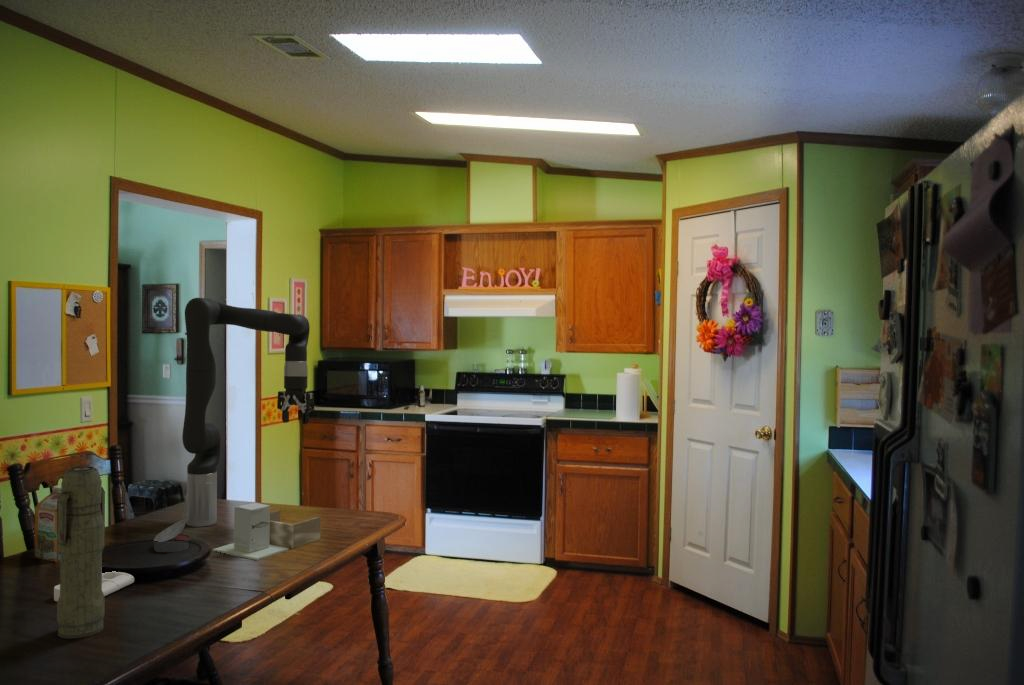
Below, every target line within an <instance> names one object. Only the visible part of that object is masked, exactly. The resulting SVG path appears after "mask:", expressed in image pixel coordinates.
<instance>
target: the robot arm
mask: <svg viewBox="0 0 1024 685" xmlns="http://www.w3.org/2000/svg"><path fill="white" fill-rule="evenodd" d="M184 323H185V331H186V368H185V369H186V370H185V410H184V419H183V420H184V421H183V427H182V436H181V438H182V445H183V447H184V449H185V450H186V451H187V452H188V453H189V454H192V455H193V454H194V457H193V459H192V460H191V461H190V462H189V463H188V464H187V466H186V467H187V468H186V471H187V473H186V478H187V479H186V485H187V486H186V487H187V489H186V494H185V496H184V519H187V522H186V524H185V525H187V526H188V527H207V526H213V525H215V524H217V522H218V521H217V520H218V519H217V518H218V517H217V514H218V510H217V509H218V507H217V506H218V504H217V503H218V498H217V497H218V491H217V489H218V466H219V463H220V459H221V445H222V444H221V441H222V440H221V433H220V430H219V428H218V426H216V425H215V424H213V423H209V422H207V423H206V413H207V408H208V405H209V403H210V401H211V398H212V396H213V395H214V394H213V393H214V392H215V388H216V383H217V364H216V360H215V357H214V356H215V355H214V352H213V351H212V347H211V341H210V326H212V325H213V326H214V325H215V326H216V325H227V326H228V325H229V326H236V327H241V328H245V329H248V330H249V329H250V330H254V331H261V332H269V333H277V334H282V335H286V336H288V341H287V342H288V343H287V344H286V345H285V349H284V368H283V388H284V390H282V391H281V390H280V391H279V390H278V392H277V402H276V403H277V404H276V408H277V409H278V410H280V412H281V420H282V423H284V424H285V423H289V422H290V411H289V410H290V408H291V407H292V406H297V407H298V408H300V410H301V412H302V413H301V424H302V425H303V426H304V425H308V424H309V421H310V413H311V412H314V411H315V394H314V393H313V392H308V393H307V389H308V374H309V373H308V371H309V370H308V343H309V338H310V321H309V319H308V318H307V317H306V316H305V315H303V314H293V313H291V314H290V313H284V312H283V313H282V312H277V311H275V310H274V311H273V310H266V309H260V308H251V307H249V308H248V307H239V306H234V305H229V304H225V303H222V302H218V301H216V300H213V299H211V298H208V297H206V298H205V297H194V298H192V299H190V300H189V301H188V302H187V304H186V305H185V309H184Z"/></svg>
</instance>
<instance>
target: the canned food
mask: <svg viewBox="0 0 1024 685" xmlns="http://www.w3.org/2000/svg"><path fill="white" fill-rule="evenodd" d="M186 522H187V519H185V518H183V519H181V520H179V521H177V522H175V523H173V524H172V525H170V526H168V527H166V528H165V529H163V530H161V532H159V533H158V534H156V536H155V537H154V538H153V542H154V541H158V542H165V541H168V540H170V539H184V540H191V538H190V536H189V534H188V535H187V534H184V533H183V534H182V531H183V530H184V528H185V527H186V525H187V524H186Z"/></svg>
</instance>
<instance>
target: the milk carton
mask: <svg viewBox="0 0 1024 685" xmlns="http://www.w3.org/2000/svg"><path fill="white" fill-rule="evenodd" d="M60 495H61V487H59V486H57V487H56V486H54V487H52V492H51V493H49V494H48V495H46V496H45V497H44V498H42V500H40V501H39V502H38V503H37V505H36V506H35V507H34V558H37V559H41V558H42V560H45V559H46V560H45V561H49V560H50V561H49V562H53V561H54V562H53V563H57V562H58V563H60V555H59V553H58V542H57V501H58V499H59V496H60Z"/></svg>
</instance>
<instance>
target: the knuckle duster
mask: <svg viewBox="0 0 1024 685" xmlns="http://www.w3.org/2000/svg"><path fill="white" fill-rule="evenodd" d="M134 582H135V577H134V576H133V575H132V574H130V573H127V572H121V571H118V572H116V571H112V572H105V573H102V592H103V594H104V597H106V596H108V595H109V594H110V595H111V594H113V593H115V592H117V591H119V590H120V589H123V588H126V587H127V586H130V585H131V584H133V583H134ZM59 597H60V584H57V585H55V586H54V587H53V600H54V601H55V602H58V599H59Z"/></svg>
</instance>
